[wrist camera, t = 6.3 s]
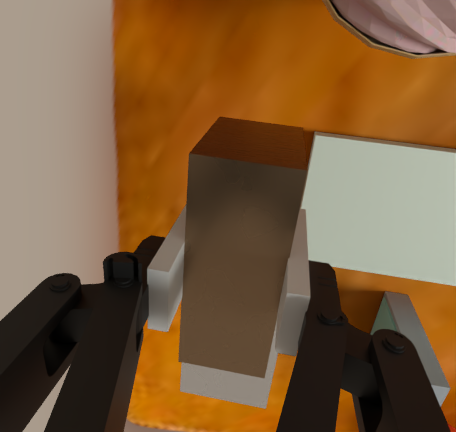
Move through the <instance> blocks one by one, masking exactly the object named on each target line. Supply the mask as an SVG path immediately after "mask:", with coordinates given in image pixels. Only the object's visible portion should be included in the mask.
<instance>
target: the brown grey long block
mask: <svg viewBox="0 0 456 432" xmlns="http://www.w3.org/2000/svg"><path fill="white" fill-rule="evenodd" d="M307 171H308V170H307V160H306V150H305V140H304V131H303V128H301V127H294V126H286V125H279V124H271V123H264V122H256V121H249V120H241V119H234V118H226V117H219V118H218V119H217V121H216V122H215V123H214V124H213V125H212V127H211V128H210V129H209V130H208V131H207V133H206V134H205V135H204V136H203V137H202V139H201V140H200V141H199V142H198V143H197V145H196V146H195V147H194V148H193V149H192V151H191V152H190V153H189V166H188V186H187V205H186V225H185V245H184V268H183V291H182V304H181V324H180V343H179V362H182V368H181V386H180V391H182V392H187V393H192V394H197V395H201V396H206V397H211V398H216V399H221V400H226V401H231V402H236V403H240V404H245V405H250V406H255V407H260V408H265V409H266V405H267V400H268V396H269V391H270V387H271V382H272V378H273V373H274V369H275V364H276V359H277V355H278V353H276V352H275V342H276V326H277V313H278V308H279V302H280V297H281V292H282V287H283V282H284V277H285V272H286V267H287V262H288V258H290V253H291V248H292V244H293V239H294V234H295V229H296V224H297V219H298V214H299V210H300V205H301V200H302V195H303V190H304V185H305V181H306V176H307Z"/></svg>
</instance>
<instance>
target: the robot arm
mask: <svg viewBox="0 0 456 432" xmlns="http://www.w3.org/2000/svg"><path fill="white" fill-rule="evenodd" d="M186 205H187V204H186ZM185 225H186V206H185V207H184V209H183V211H182V212H181V214H180V216H179V217H178V219H177V220H176V222H175V224H174V225H173V227H172V229H171V230H170V232H169V234H168V235H167V237H166V238H165V237H158V236H152V235H151V236H149V237H148V238H146V239H144V240H143V241H142V242H141V243H140V245H139V246H138V248H137V249H136V250H135V252H134V253H130V252H118V253H114V254H111V255H109V256H108V257H106V258H105V259H104V261H103V269H104V283H100V284H86V285H81V283H80V279H79V278H78V277H77V276H76V275H73V274H69V273H62V274H56V275H53V276H50V277H48V278H47V279H45V280H44V281H42V282H41V283H40V284H39V285H38V286H37V287H36V288H35V289H34V290H33V291H32V292H31V293H30V294H29V295H28V296H26V297H25V298H24V299H23V300H22V301H21V302H20V303H19V304H18V305H17V306H16V307H15V308H14V309H13V310H12V311H11V312H9V313H8V315H6V316H5V317H4V318H3V319H2V320H1V321H0V432H22V431H23V430H24V429H25V427H26V426H27V424H28V423H29V422H30V420H31V419H32V417H33V416H34V415H35V413H36V412H37V410H38V409H39V408H40V406H41V405H42V403H43V402H44V401H45V399H46V398H47V396H48V395H49V394H50V392H51V391H52V389H53V388H54V387H55V385H56V384H57V382H58V381H59V380H60V378H61V377H62V375H63V374H64V373H65V371H66V370H67V368H68V367H69V366H70V368H69V370H68V373H67V375H66V378H65V380H64V383H63V385H62V388H61V390H60V393H59V396H58V398H57V400H56V403H55V405H54V408H53V410H52V413H51V416H50V418H49V420H48V423H47V426H46V428H45V430H44V432H124V427H125V422H126V417H127V413H128V408H129V403H130V398H131V393H132V389H133V384H134V379H135V374H136V369H137V365H138V360H139V355H140V350H141V345H142V341H143V326H144V324H145V322H146V320H147V318H148V328H149V329H154V330H160V331H165V332H168V330H169V328H170V325H171V323H172V320H173V318H174V315H175V313H176V311H177V308H178V306H179V303H180V301H181V299H182V291H183V268H184V245H185ZM297 350H298V354H297ZM275 352H276V353H281V354H287V355H292V356H296V354H297V357H296V361H295V365H294V368H293V372H292V376H291V379H290V383H289V386H288V390H287V394H286V397H285V401H284V405H283V408H282V412H281V416H280V419H279V423H278V427H277V430H276V432H335V428H336V420H337V412H338V404H339V396H340V388H341V389H343V390H346V391H348V392H350V393H352V397H353V402H354V407H355V413H356V418H357V423H358V428H359V432H451V431H450V428H449V426H448V424H447V421H446V419H445V416H444V414H443V412H442V409H441V407H440V405H439V402H438V400H437V397H436V395H435V393H434V390H433V388H432V386H431V383H430V381H429V378H428V376H427V374H426V371H425V369H424V367H423V364H422V362H421V359H420V357H419V355H418V352H417V350H416V348H415V346H414V344H413V343H412V341H411V340H409V339H408V338H407V337H406V336H405V335H403V334H401V333H399V332H397V331H394V330H390V329H380V330H377V331H375V332H374V334H373V335H370V334H368V333H365V332H363V331H361V330H359V329H357V328H355V327H353V326H352V325H350V324H349V323H348V318H347V317H346V315H345V314H344V313H343V312H342V311H341V306H340V299H339V293H338V288H337V281H336V274H335V271H334V269H333V268H332V267H331V266H330V264H329V263H323V262H317V261H311V260H308V243H307V224H306V209H300V210H299V214H298V219H297V224H296V229H295V234H294V239H293V244H292V248H291V253H290V258H288V262H287V267H286V272H285V277H284V282H283V287H282V292H281V297H280V302H279V308H278V313H277V326H276V342H275ZM70 364H71V365H70Z"/></svg>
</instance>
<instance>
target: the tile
mask: <svg viewBox="0 0 456 432" xmlns="http://www.w3.org/2000/svg"><path fill="white" fill-rule="evenodd" d="M380 329H390V330H394V331H397V332H399V333H401V334H403V335H405V336H406V337H407V338H408V339H409V340H411V341H412V343H413V344H414V346H415V348H416V350H417V352H418V355H419V357H420V359H421V362H422V364H423V367H424V369H425V371H426V374H427V376H428V378H429V381H430V383H431V386H432V388H433V390H434V393H435V395H436V397H437V400H438V402H439V405H440V407H441V405H442V403H443V401H444V399H445V398H446V396H447V394H448V392H449V390H450V387H449V384H448V382H447V380H446V378H445V375H444V373H443V371H442V369H441V367H440V364H439V362H438V360H437V358H436V356H435V353H434V351H433V349H432V347H431V345H430V342H429V340H428V338H427V336H426V333H425V331H424V329H423V327H422V325H421V322H420V320H419V318H418V316H417V314H416V311H415V309H414V307H413V305H412V303H411V300H410V298H409V296H408V295H406V294H400V293H393V292H387V291H385V294H384V296H383V299H382V302H381V305H380V308H379V311H378V314H377V316H376V319H375V322H374V325H373V328H372V331H371V333H370V335H373V334H374V332H375V331H377V330H380Z"/></svg>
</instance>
